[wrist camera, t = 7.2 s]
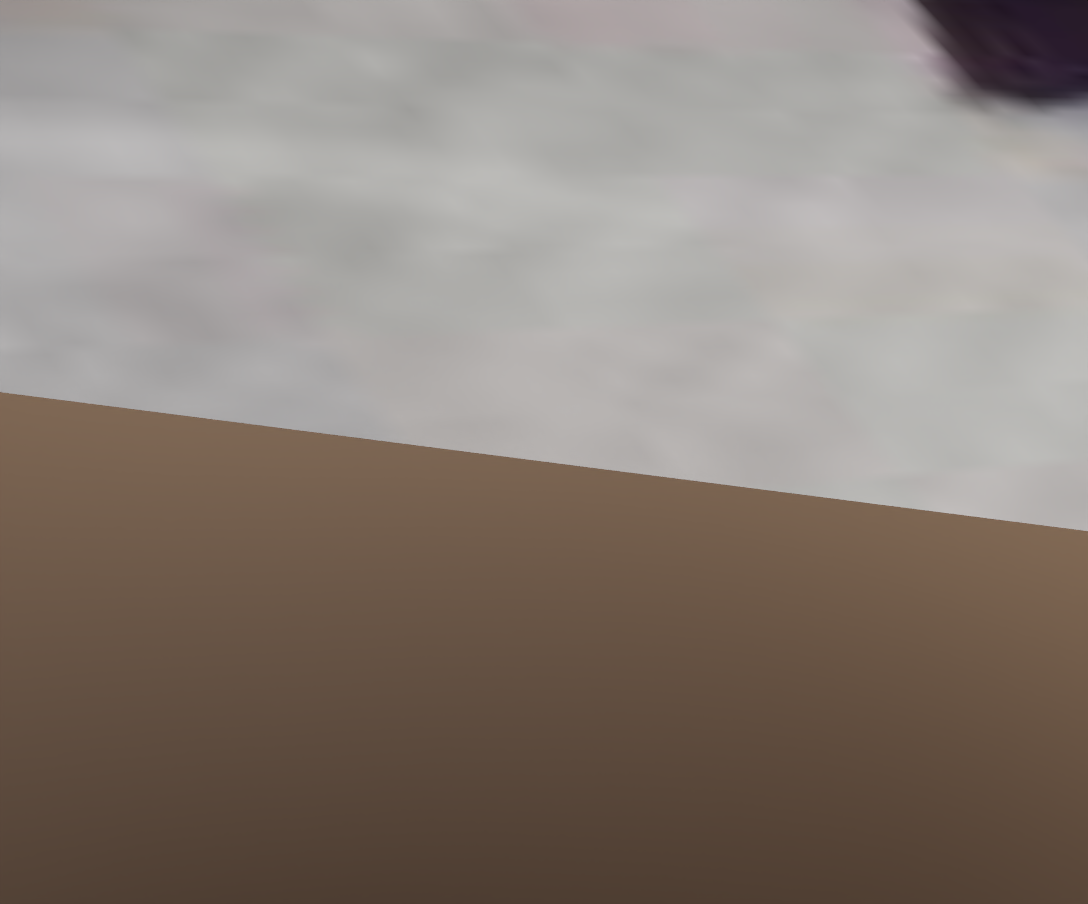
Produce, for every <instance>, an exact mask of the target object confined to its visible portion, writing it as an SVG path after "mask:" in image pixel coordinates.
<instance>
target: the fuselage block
mask: <svg viewBox="0 0 1088 904" xmlns="http://www.w3.org/2000/svg"><path fill="white" fill-rule="evenodd" d="M0 904H1088V531H1081V530H1074V529H1066V528H1058V527H1050V526H1042V525H1034V524H1027V523H1019V522H1011V521H1003V520H995V519H987V518H980V517H972V516H964V515H956V514H948V513H941V512H933V511H925V510H917V509H909V508H901V507H894V506H886V505H878V504H870V503H862V502H854V501H847V500H839V499H831V498H823V497H815V496H807V495H800V494H792V493H784V492H776V491H768V490H760V489H753V488H745V487H737V486H729V485H721V484H714V483H706V482H698V481H690V480H682V479H674V478H667V477H659V476H651V475H643V474H635V473H627V472H620V471H612V470H604V469H596V468H588V467H580V466H573V465H565V464H557V463H549V462H541V461H534V460H526V459H518V458H510V457H502V456H494V455H487V454H479V453H471V452H463V451H455V450H447V449H440V448H432V447H424V446H416V445H408V444H400V443H393V442H385V441H377V440H369V439H361V438H354V437H346V436H338V435H330V434H322V433H314V432H307V431H299V430H291V429H283V428H275V427H267V426H260V425H252V424H244V423H236V422H228V421H220V420H213V419H205V418H197V417H189V416H181V415H173V414H166V413H158V412H150V411H142V410H134V409H127V408H119V407H111V406H103V405H95V404H87V403H80V402H72V401H64V400H56V399H48V398H40V397H33V396H25V395H17V394H9V393H1V392H0Z"/></svg>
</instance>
